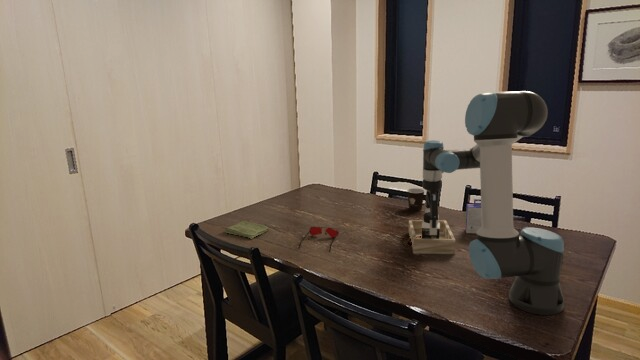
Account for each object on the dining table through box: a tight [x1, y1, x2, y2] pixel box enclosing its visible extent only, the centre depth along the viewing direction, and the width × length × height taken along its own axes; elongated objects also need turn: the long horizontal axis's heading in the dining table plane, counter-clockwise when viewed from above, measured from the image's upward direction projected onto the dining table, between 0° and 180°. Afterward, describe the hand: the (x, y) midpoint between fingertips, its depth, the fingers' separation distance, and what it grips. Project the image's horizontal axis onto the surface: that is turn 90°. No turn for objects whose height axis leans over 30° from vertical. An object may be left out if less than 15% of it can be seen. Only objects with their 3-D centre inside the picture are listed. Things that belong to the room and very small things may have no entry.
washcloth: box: [225, 220, 270, 240], centre depth 197 cm, size 13×18×3 cm
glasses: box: [297, 226, 340, 253], centre depth 181 cm, size 14×16×5 cm
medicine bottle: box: [422, 212, 440, 239], centre depth 176 cm, size 7×7×12 cm
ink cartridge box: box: [464, 198, 482, 234], centre depth 186 cm, size 10×6×14 cm, turn 78°
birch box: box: [408, 219, 456, 255], centre depth 177 cm, size 22×16×6 cm
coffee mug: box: [406, 187, 426, 212], centre depth 217 cm, size 12×9×10 cm
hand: (430, 228), depth 176 cm, fingers open, 13 cm apart
